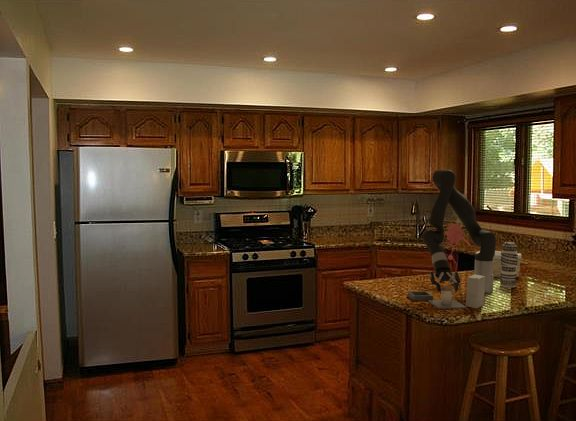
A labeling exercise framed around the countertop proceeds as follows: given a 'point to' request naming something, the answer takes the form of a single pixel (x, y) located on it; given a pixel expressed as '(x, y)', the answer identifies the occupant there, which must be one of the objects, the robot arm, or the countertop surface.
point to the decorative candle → (508, 265)
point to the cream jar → (446, 295)
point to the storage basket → (497, 264)
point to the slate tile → (442, 306)
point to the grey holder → (420, 295)
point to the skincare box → (475, 291)
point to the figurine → (454, 238)
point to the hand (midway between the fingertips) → (448, 290)
